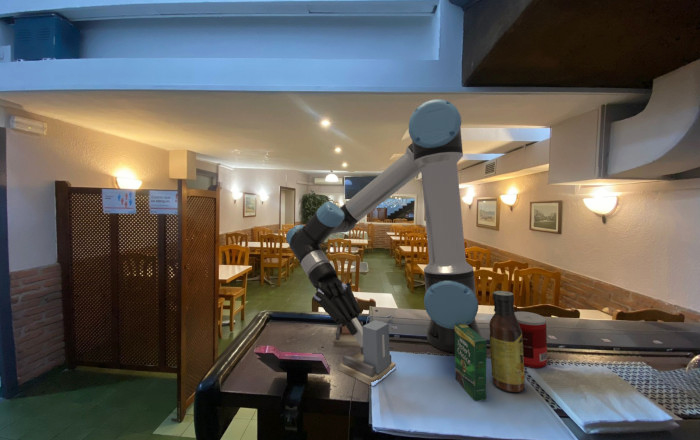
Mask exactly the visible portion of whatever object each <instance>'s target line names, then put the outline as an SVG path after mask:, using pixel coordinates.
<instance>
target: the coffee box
mask: <svg viewBox="0 0 700 440" xmlns="http://www.w3.org/2000/svg"><path fill="white" fill-rule="evenodd" d="M454 327H455V353H454V366H455V367H454V376H455V377H454V378H455V381H456V382H457V383H458V384H459V385H460V386H461V388H463V390H464V391H465V392H466V394H468V396H469V397H470V398H471V399H472V400H473V401H474V402H477V401H484V400H487V339H486V338H484V337H483V336H482V335H481V336H482V337H481V336H480V335H479V334H478V333H476V332H475V331H474V330H472V329H471V328H470V327H469V326H467V325H466V324H456V325H455V326H454Z"/></svg>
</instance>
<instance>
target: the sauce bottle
mask: <svg viewBox="0 0 700 440" xmlns="http://www.w3.org/2000/svg"><path fill="white" fill-rule="evenodd" d="M514 295H515V294H514V293H513V292H510V291H506V290H505V291H504V290H496V291H493V292H492V299H493V302H494V303H493V306H494V309H493V312H494V314H493V315H492V317H491V318H490V320H489V349H490V351H489V352H490V366H491V367H490V368H491V376H492V382H493V384H494V385H495V386H496V387H497V388H499V389H501V390H502V391H506V392H511V393H521V392H522V391H523V390H524V388H525V382H526V381H525V380H526V378H525V366H524V358H523V342H522V341H523V340H522V330H521V328H520V325H519V323H518V321H517V318H516V316H515V314H514V312H515V308H514V307H515V306H514V301H515V296H514Z"/></svg>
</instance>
